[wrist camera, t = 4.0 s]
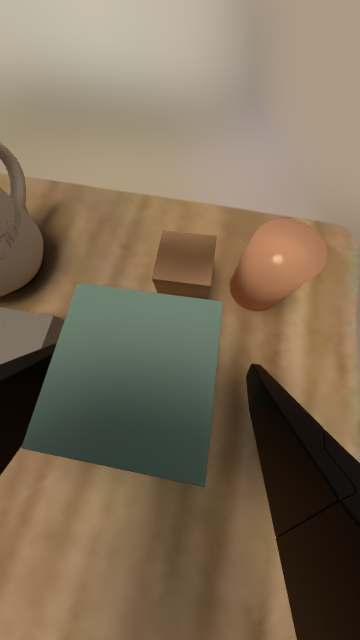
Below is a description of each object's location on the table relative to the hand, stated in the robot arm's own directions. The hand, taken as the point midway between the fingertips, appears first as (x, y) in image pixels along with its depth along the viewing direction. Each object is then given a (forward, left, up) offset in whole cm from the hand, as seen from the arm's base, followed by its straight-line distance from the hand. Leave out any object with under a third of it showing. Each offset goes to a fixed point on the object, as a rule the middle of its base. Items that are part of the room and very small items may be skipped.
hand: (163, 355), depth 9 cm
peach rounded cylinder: (-1, -11, -7) cm, 13 cm away
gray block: (+9, +7, -7) cm, 14 cm away
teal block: (0, +1, -7) cm, 7 cm away
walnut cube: (+5, -7, -7) cm, 11 cm away
